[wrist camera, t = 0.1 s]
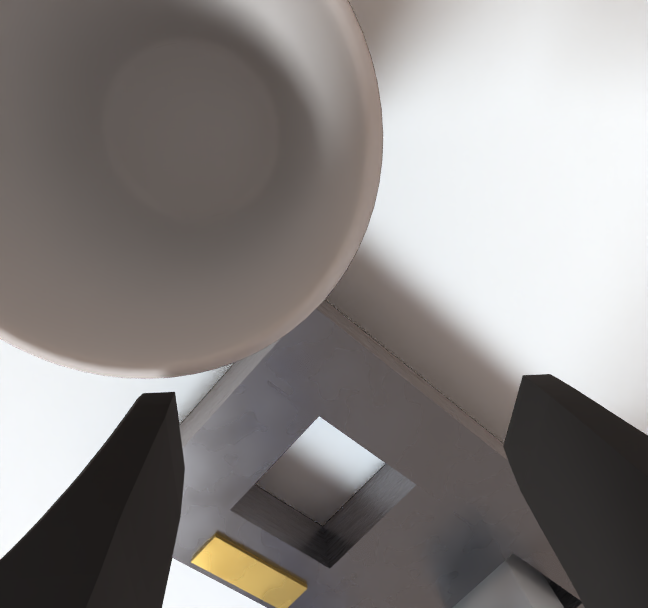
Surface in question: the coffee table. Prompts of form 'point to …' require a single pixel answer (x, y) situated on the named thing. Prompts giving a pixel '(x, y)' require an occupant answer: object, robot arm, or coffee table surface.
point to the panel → (369, 502)
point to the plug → (512, 588)
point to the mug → (178, 176)
